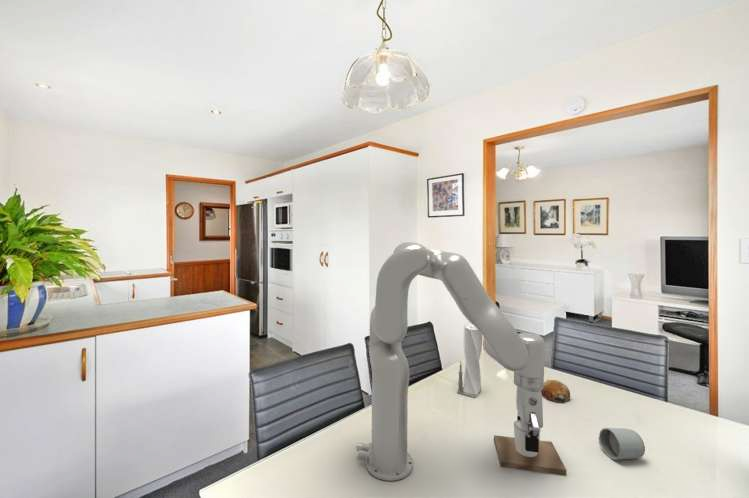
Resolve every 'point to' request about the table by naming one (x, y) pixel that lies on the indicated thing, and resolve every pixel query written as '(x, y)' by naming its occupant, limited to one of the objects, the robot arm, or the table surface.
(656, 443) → the table surface
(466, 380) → the skyscraper
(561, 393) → the bread roll
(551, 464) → the walnut board
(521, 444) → the white short cylinder
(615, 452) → the ceramic mug
